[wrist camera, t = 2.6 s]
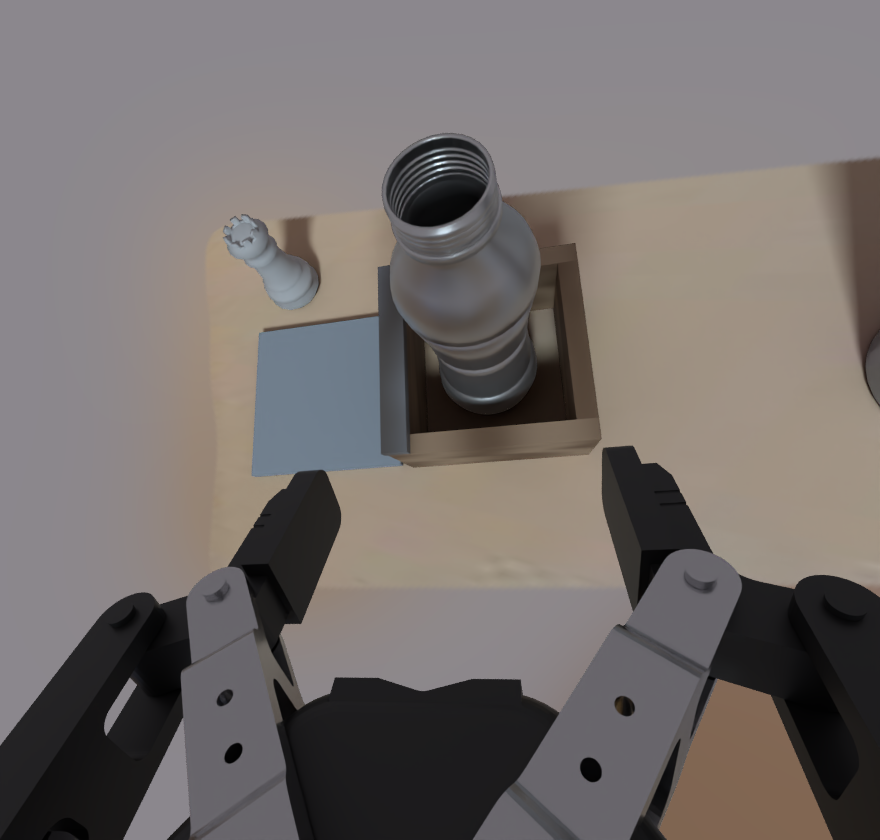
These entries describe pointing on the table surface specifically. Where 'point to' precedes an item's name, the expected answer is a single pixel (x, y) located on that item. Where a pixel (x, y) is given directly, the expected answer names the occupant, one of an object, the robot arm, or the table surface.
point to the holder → (572, 437)
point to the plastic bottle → (463, 269)
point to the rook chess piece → (272, 263)
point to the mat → (318, 399)
